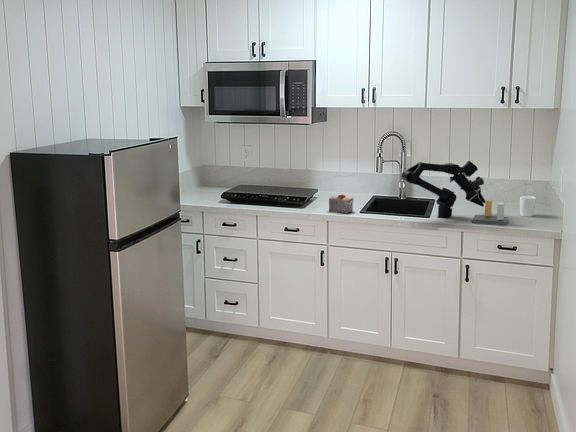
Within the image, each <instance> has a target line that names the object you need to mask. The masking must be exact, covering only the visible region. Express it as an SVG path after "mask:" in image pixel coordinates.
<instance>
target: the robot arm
mask: <svg viewBox="0 0 576 432" xmlns="http://www.w3.org/2000/svg"><path fill="white" fill-rule="evenodd" d="M424 171H428V172H429V171H430V172H439V173H444V174H449V175H452V176H449V183H453V181H454V182H455V183H456V184H457V185H458V186H459V187H460V190H463V192H464V193H465V199H466V201H467V202H471V203H472V204H475V205H478V206H481V207H485V201H486V199H485V198H484V196H483V194H482V192H481V191H482V188H481V186H484V185H485V181H484V178H483V177H480V176H477V177H475V179H474V180H471V179H468V178H470V177H471V176H473V175H474V174H475V173H476V172H477V171H479V169H478V166H477V165H476V164H474V163H473V162H472V161H471V160H468V161H467V162H466V163H465V164H464V165H462V166H460V165H459V164H456V163H452V162H449V163H448V162H446V163H443V164H442V163H441V164H439V163H429V162H422V161H418V162H417V163H416V164H414V165H413V166H411V167H409V168H408V169H406V170H403V172H402V173H401V174H400V175H401V180H403V182H407V183H410V184H413V185H415V186H419V187H420V188H422V189H424V190H426V191H428V192H430V193H432V194H434V195H436V196H437V197H438V199H437V200H436V205H438V206H437V207H438V209H437V210H438V211H437V216H436V217H437V218H438V219H439V218H441V219H442V218H443V219H451V218H452V217H453V207H454V205H455V202H456V200H457V195H456V193H455V191H452V190H450V189H449V188H446V187H442V188H440V187H438V186H435V185H434V184H432V183H429V182H428V181H426V180H424V179H422V178H421V175H422V173H424Z"/></svg>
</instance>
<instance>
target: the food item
mask: <svg viewBox="0 0 576 432" xmlns="http://www.w3.org/2000/svg"><path fill="white" fill-rule="evenodd" d="M353 203H354V198H353V197H347V196H346V194H339V195H338V196H337V195H336V196H335V195H333V196H330V197H329V199H328V211H338V212H341V213H342V212H349V213H351V212H350V211H352V212H353V211H354V206H353V205H354V204H353ZM338 212H337V213H338Z"/></svg>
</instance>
